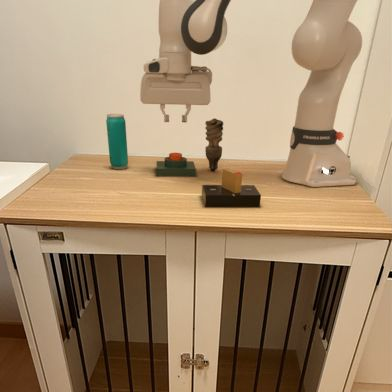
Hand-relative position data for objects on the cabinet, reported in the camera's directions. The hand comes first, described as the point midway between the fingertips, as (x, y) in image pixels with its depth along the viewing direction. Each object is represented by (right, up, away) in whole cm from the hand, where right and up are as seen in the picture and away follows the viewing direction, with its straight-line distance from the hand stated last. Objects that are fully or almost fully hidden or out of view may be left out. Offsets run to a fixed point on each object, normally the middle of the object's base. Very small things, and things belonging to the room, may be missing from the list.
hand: (175, 122), depth 121 cm
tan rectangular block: (+15, -26, -16) cm, 34 cm away
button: (0, -8, +6) cm, 11 cm away
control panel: (+15, -29, -14) cm, 36 cm away
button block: (0, -11, +8) cm, 14 cm away
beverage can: (-19, -9, +11) cm, 24 cm away
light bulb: (+11, -10, +11) cm, 19 cm away
